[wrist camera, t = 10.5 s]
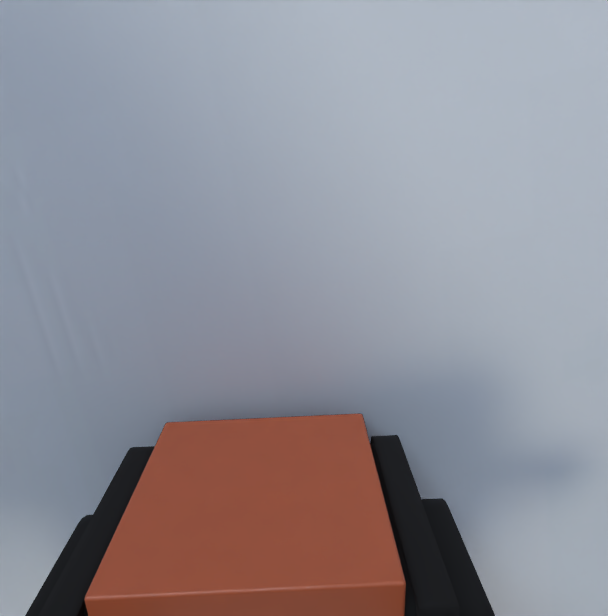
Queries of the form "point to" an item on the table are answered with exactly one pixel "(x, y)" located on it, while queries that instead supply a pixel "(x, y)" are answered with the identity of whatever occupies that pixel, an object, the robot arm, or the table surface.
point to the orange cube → (255, 525)
